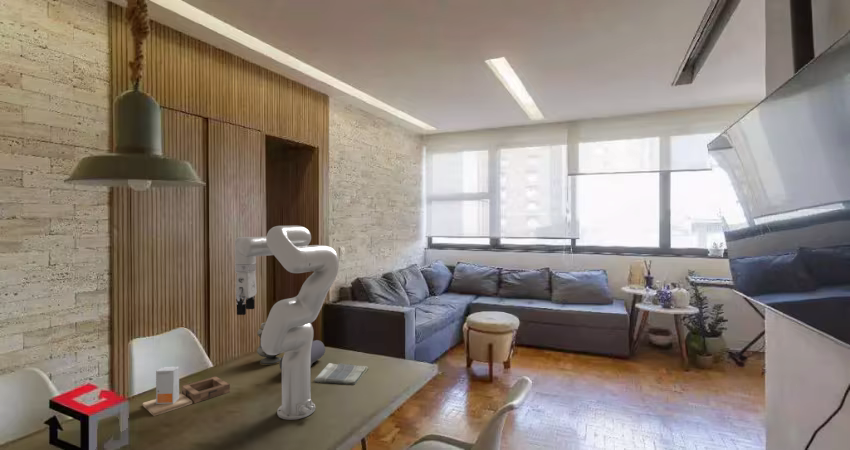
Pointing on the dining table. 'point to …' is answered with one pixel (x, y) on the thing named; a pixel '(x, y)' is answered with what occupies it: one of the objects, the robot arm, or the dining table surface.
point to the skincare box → (167, 385)
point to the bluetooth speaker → (313, 351)
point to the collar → (216, 390)
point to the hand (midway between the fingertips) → (245, 311)
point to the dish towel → (341, 374)
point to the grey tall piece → (269, 358)
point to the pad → (166, 405)
